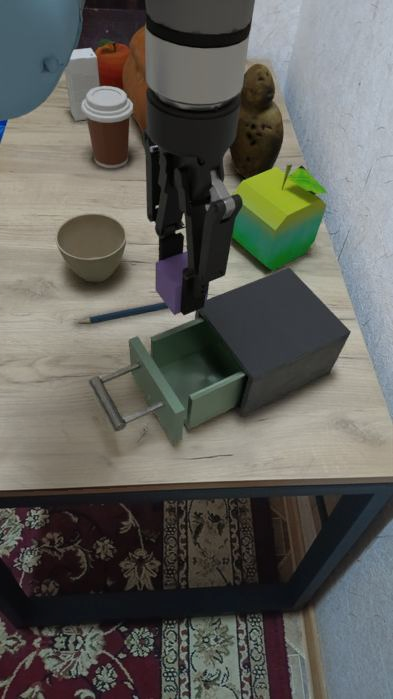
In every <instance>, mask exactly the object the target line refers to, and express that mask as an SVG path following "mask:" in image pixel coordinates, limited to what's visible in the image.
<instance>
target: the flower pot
mask: <svg viewBox="0 0 393 699" xmlns="http://www.w3.org/2000/svg"><path fill="white" fill-rule="evenodd" d="M54 239H55V243H56V246H57V249H58V251H59V252H60V255H61V257H62V259H63V260H64V262H65V263H66V264H67V266H68V267H69V268H70V269H71V271H73V272H74V273H75V274H76V275H77V276H78V277H80V278H81V279H82V280H84V281H86V282H89V283H101V282H104V281H106V280H108V279H109V278H110V277H111V276H113V274H114V273H115V271H116V270H117V268H118V267H119V265H120V263H121V262H122V259H123V257H124V253H125V249H126V244H127V230H126V228H125V226H124V224H123V223H122V222H121V221H120V220H118V219H117V218H115V217H113V216H111V215H109V214H105V213H101V212H100V213H99V212H86V213H80V214H77V215H74V216H71V217H69V218H68V219H66V220H64V221H63V222H62V223H61V224H60V225H59V227H58V228H57V230H56V232H55V236H54Z"/></svg>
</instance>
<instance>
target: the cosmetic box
mask: <svg viewBox="0 0 393 699" xmlns="http://www.w3.org/2000/svg"><path fill="white" fill-rule="evenodd" d="M63 72H64V77H65V83H66V90H67V91H66V92H67V97H68V103H69V110H70V113H71V115H72V117H73V120H74V121H75V122H79V121H87V118H86V116H84V114H83V112H82V111H81V105H82V101H83V100H84V99H86V95H87V93H88V92H89V91H90V90H91V89H93V88H96V87H101V84H100V83H99V73H98V63H97V56H96V55H95V51H94V50H93V49H92V47H86V48H75V49H74V50H73V52H72V55H71V58H70V60H69V63H68V65H67V66H66V67H65V69H64V71H63Z"/></svg>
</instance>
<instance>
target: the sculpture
mask: <svg viewBox="0 0 393 699" xmlns="http://www.w3.org/2000/svg"><path fill="white" fill-rule="evenodd" d="M273 78H274V77H273V75H272V73H271V71H270V70H269V68H268V67H267V66H266V65H265V64H262V63H255V64H252V65H251V66H249V67H248V69H247V70H245V72H244V80H243V87H242V89H241V91H240V92H239V94H240V97H241V105H240V112H239V119H238V126H237V133H236V138H235V140H234V142H233V144H232V145H231V146H230V147H229V149H228V150H229V153H230V157H231V162H232V164H233V166H234V168H235V169H236V172H238V173H239V175H241V176H242V177H244V178H245V179H248V178H251V177H253V176H255V175H258V174H260V173H263V172H265V171H267V170H270V169H272V168H274V166H275V163H276V162H277V159H278V158H279V155H280V152H281V150H282V145H283V142H284V136H285V133H284V122H283V116H282V112H281V110H280V108H279V106H278V104H276V102H275V101H274V98H275V95H276V85H275V81H274V79H273Z"/></svg>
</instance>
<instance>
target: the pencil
mask: <svg viewBox="0 0 393 699" xmlns="http://www.w3.org/2000/svg"><path fill="white" fill-rule="evenodd" d="M164 309H169V307H168V306H167V305H166V303H165V302H164V301H163V302H158V303H153V304H148V305H143V306H138V307H133V308H128V309H122V310H119V311H113V312H108V313H103V314H99V315H94V316H90V317H89V316H88V317H87V318H85V319H83V320H81V321H79V322H77V323H78V324H94V323H99V322H104V321H109V320H113V319H119V318H124V317H129V316H134V315H139V314H144V313H149V312H153V311H159V310H164Z"/></svg>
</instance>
